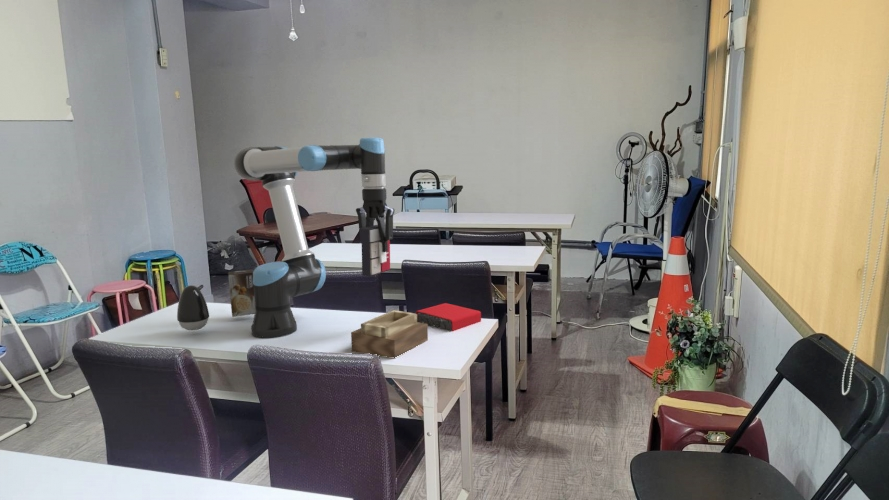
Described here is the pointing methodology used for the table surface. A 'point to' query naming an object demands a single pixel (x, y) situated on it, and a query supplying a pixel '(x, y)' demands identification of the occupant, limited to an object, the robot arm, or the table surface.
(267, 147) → the robot arm
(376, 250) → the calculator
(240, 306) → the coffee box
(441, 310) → the red device housing
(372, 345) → the display riser
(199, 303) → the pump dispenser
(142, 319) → the table surface
